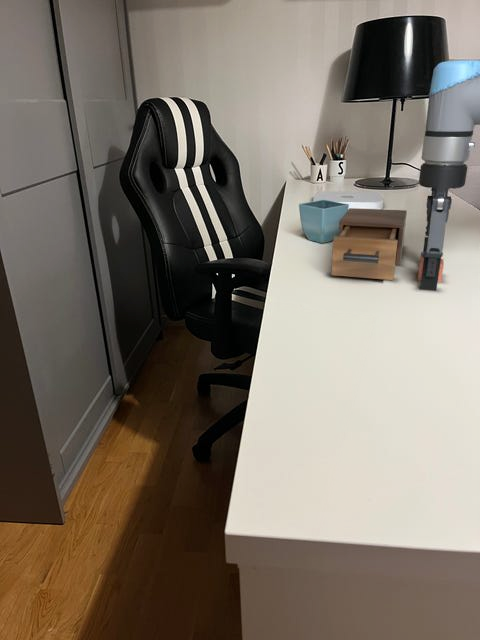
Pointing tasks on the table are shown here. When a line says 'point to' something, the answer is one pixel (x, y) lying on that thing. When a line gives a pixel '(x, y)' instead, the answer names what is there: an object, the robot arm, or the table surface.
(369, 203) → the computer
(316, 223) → the flower pot
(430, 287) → the robot arm
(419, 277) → the block
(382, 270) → the drawer
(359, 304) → the table surface
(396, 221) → the cabinet
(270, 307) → the table surface
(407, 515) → the table surface
